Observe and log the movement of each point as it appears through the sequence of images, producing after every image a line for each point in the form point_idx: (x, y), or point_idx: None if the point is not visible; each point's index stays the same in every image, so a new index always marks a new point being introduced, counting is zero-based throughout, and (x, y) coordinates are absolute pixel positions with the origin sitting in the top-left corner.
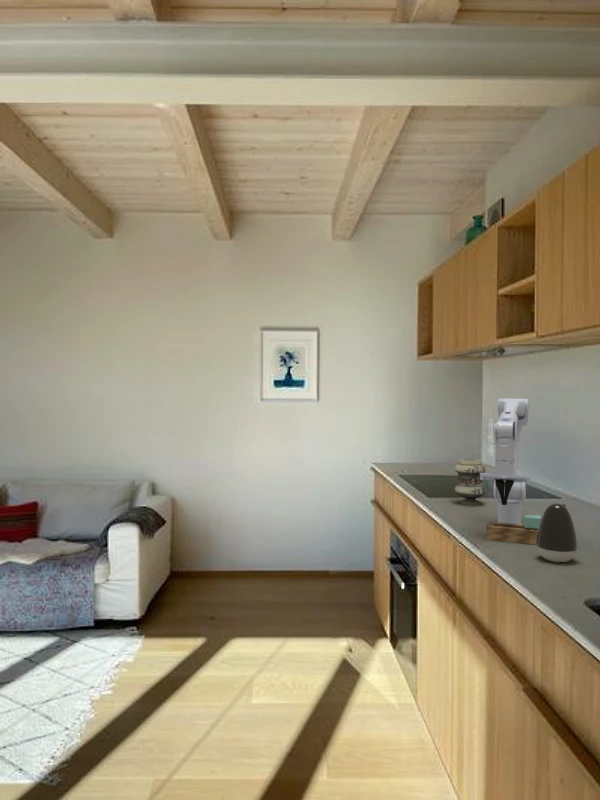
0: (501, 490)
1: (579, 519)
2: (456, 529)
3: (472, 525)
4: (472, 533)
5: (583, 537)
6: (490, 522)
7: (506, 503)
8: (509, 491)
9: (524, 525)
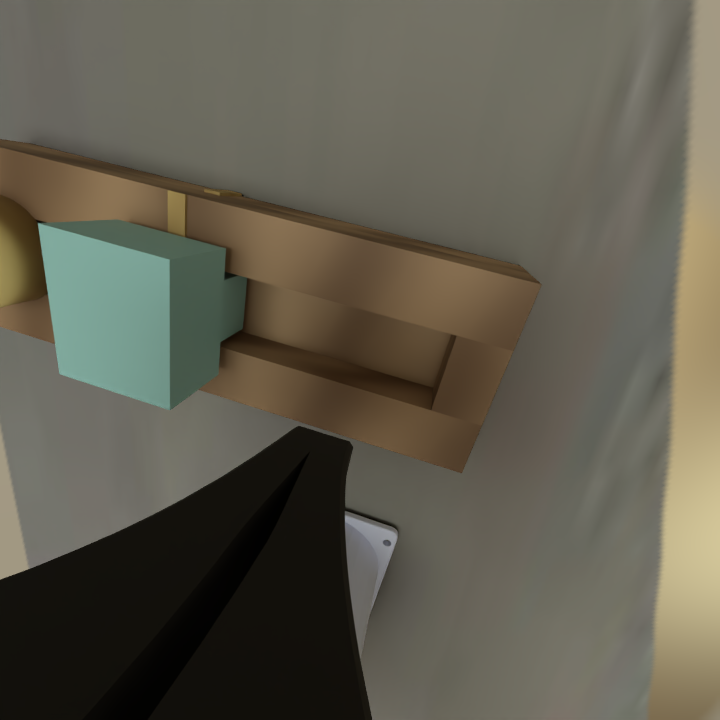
0: (269, 629)
1: None
2: (648, 523)
3: (507, 601)
4: (567, 434)
5: (28, 406)
6: (458, 444)
7: (284, 435)
8: (83, 548)
9: (213, 249)
